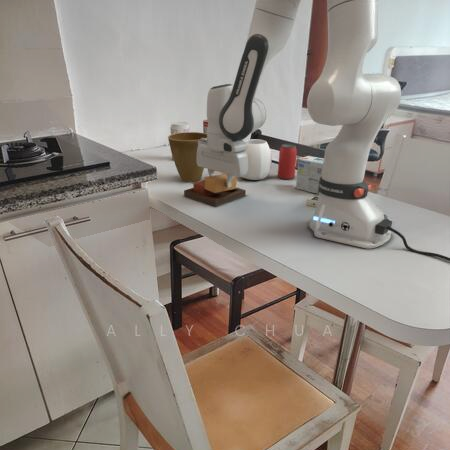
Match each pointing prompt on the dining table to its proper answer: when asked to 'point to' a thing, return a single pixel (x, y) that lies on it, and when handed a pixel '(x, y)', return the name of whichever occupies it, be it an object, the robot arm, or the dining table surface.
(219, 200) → the dark brown square tray
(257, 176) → the white faceted vase
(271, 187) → the dining table surface
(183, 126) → the supplement can
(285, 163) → the beer can
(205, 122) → the canned food
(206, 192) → the reddish brown rectangular block
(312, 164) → the light bulb box
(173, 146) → the plant pot
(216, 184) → the orange rectangular block
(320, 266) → the dining table surface
